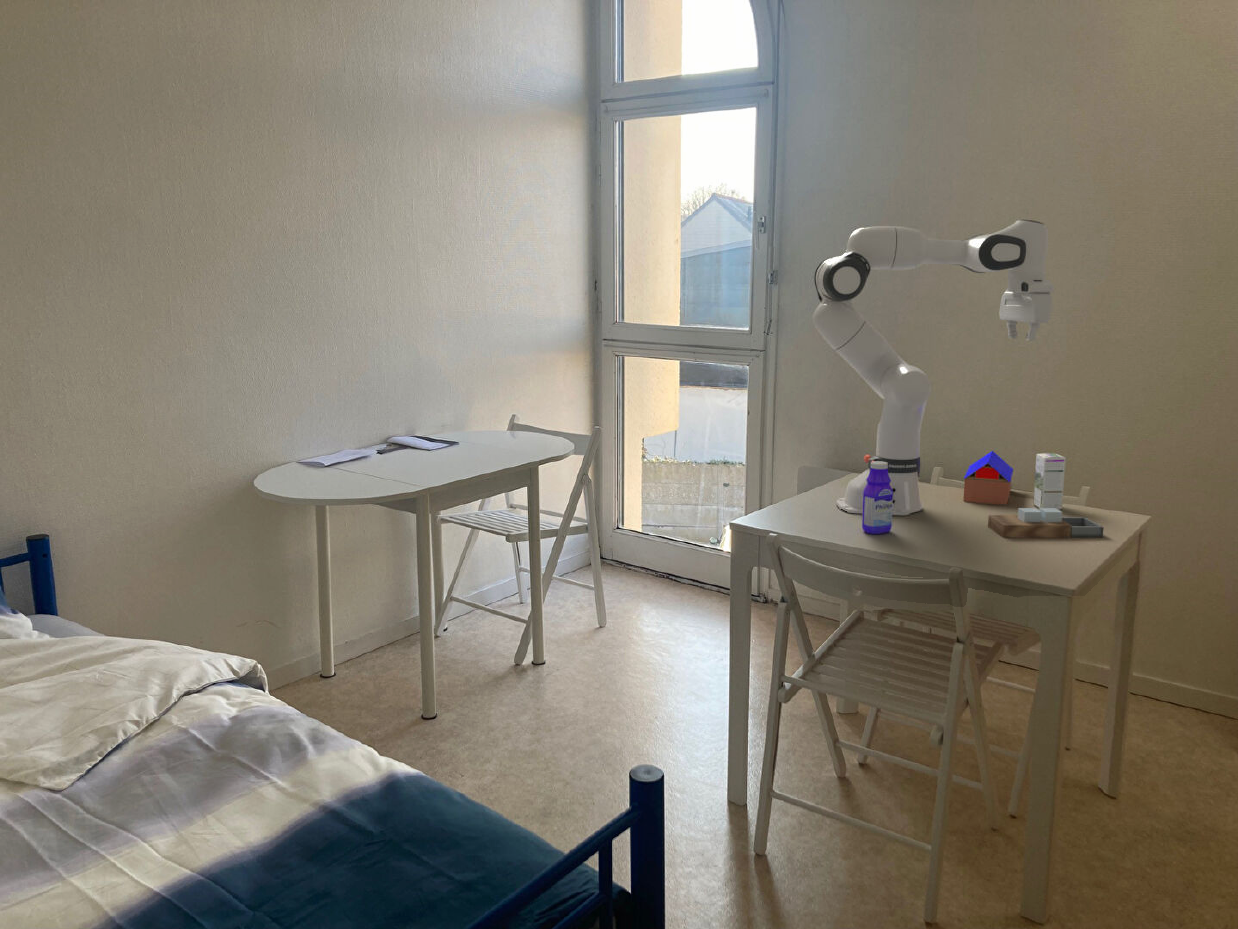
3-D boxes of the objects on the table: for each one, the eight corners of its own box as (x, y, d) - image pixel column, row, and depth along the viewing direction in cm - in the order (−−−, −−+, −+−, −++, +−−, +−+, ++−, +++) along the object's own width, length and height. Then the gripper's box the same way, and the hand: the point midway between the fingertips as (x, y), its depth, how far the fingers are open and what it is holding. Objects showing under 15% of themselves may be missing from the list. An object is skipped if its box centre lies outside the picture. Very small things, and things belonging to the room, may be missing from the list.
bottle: (873, 536, 229) (876, 465, 226) (857, 531, 234) (860, 461, 231) (895, 532, 232) (899, 463, 229) (879, 527, 237) (882, 459, 234)
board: (1002, 537, 228) (1003, 525, 227) (987, 526, 238) (988, 515, 237) (1070, 537, 227) (1071, 525, 227) (1052, 526, 237) (1053, 515, 237)
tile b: (1024, 522, 230) (1024, 512, 229) (1017, 518, 234) (1018, 508, 233) (1040, 522, 230) (1041, 512, 229) (1033, 518, 234) (1034, 508, 233)
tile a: (1044, 522, 230) (1045, 512, 229) (1038, 518, 234) (1038, 508, 233) (1061, 522, 230) (1062, 512, 229) (1054, 518, 234) (1055, 508, 233)
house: (961, 502, 264) (964, 461, 262) (968, 487, 282) (970, 449, 280) (1008, 506, 259) (1011, 464, 257) (1011, 491, 277) (1014, 452, 275)
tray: (1071, 537, 228) (1071, 527, 227) (1053, 526, 237) (1054, 517, 236) (1102, 537, 227) (1103, 527, 227) (1084, 526, 237) (1085, 517, 236)
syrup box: (1062, 510, 254) (1067, 457, 251) (1040, 510, 254) (1044, 457, 251) (1053, 505, 259) (1057, 453, 257) (1031, 505, 259) (1035, 453, 257)
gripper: (995, 284, 253) (991, 336, 256) (1033, 285, 233) (1028, 342, 236) (1018, 284, 254) (1013, 336, 256) (1058, 285, 234) (1053, 341, 236)
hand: (1021, 339), depth 246 cm, fingers open, 8 cm apart
